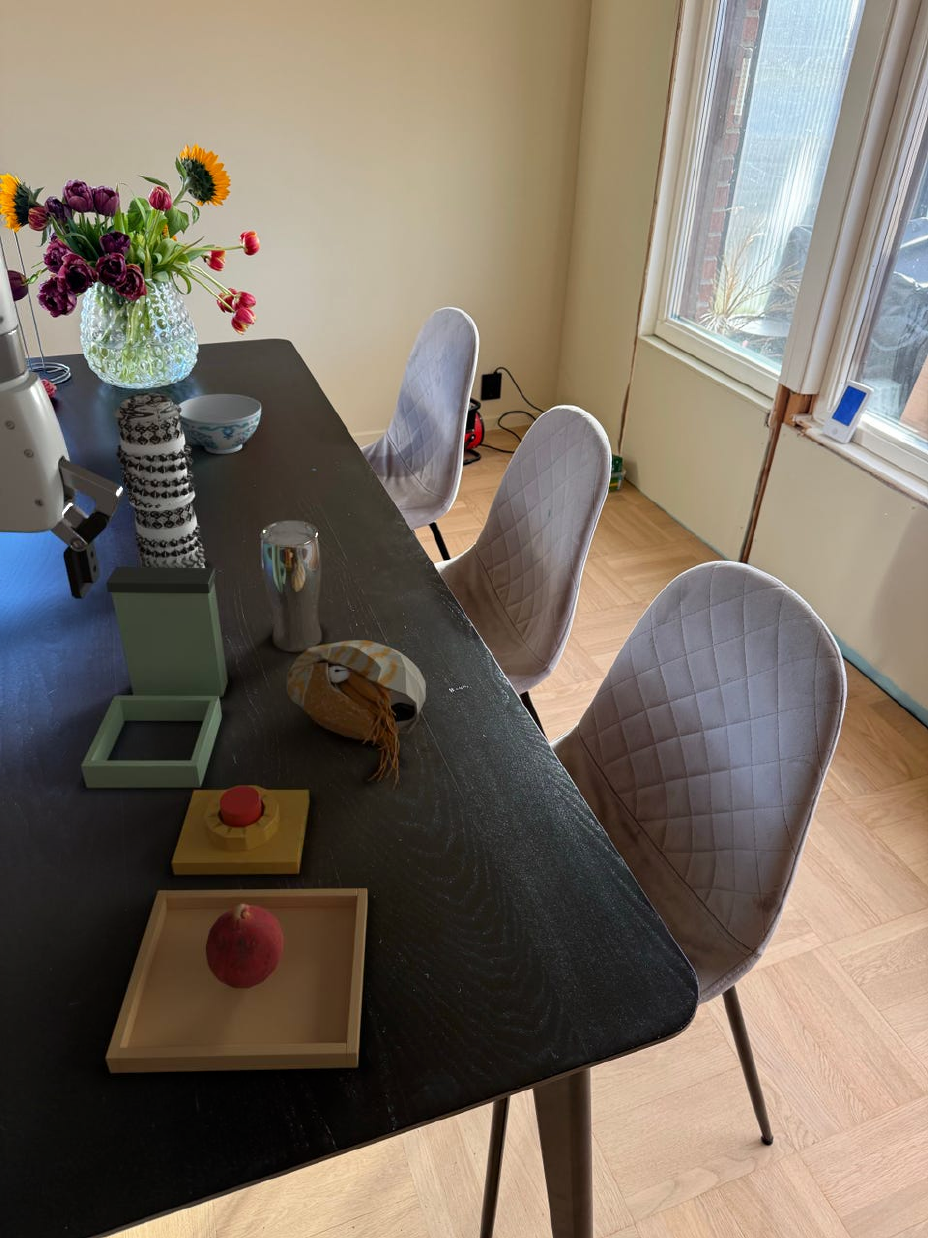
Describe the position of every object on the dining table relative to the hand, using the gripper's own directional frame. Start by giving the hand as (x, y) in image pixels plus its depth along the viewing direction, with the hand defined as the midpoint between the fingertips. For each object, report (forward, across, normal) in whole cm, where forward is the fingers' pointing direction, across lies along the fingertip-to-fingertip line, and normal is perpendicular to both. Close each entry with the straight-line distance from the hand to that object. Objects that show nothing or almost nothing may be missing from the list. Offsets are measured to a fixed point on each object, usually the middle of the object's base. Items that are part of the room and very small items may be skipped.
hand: (18, 586), depth 64 cm
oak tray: (+27, +18, -14) cm, 35 cm away
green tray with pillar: (+28, +3, +16) cm, 32 cm away
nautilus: (+27, +24, +16) cm, 40 cm away
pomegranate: (+27, +18, -14) cm, 35 cm away
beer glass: (+28, +15, +34) cm, 46 cm away
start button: (+24, +15, +1) cm, 28 cm away
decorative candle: (+28, -4, +50) cm, 57 cm away
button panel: (+27, +15, +1) cm, 31 cm away
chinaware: (+29, -6, +96) cm, 101 cm away
